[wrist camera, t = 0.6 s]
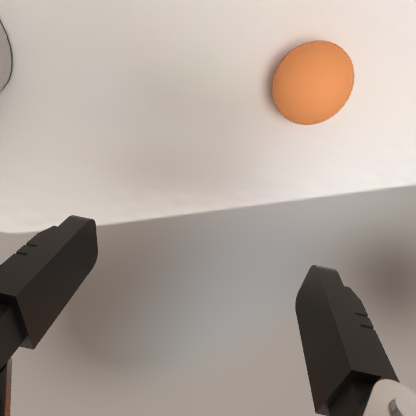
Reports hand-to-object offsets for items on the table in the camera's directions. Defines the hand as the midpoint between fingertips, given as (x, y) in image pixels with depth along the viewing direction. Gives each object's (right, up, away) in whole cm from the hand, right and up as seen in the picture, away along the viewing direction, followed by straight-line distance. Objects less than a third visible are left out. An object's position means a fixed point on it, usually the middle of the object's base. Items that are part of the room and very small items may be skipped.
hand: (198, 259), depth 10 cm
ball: (+8, +11, +10) cm, 17 cm away
